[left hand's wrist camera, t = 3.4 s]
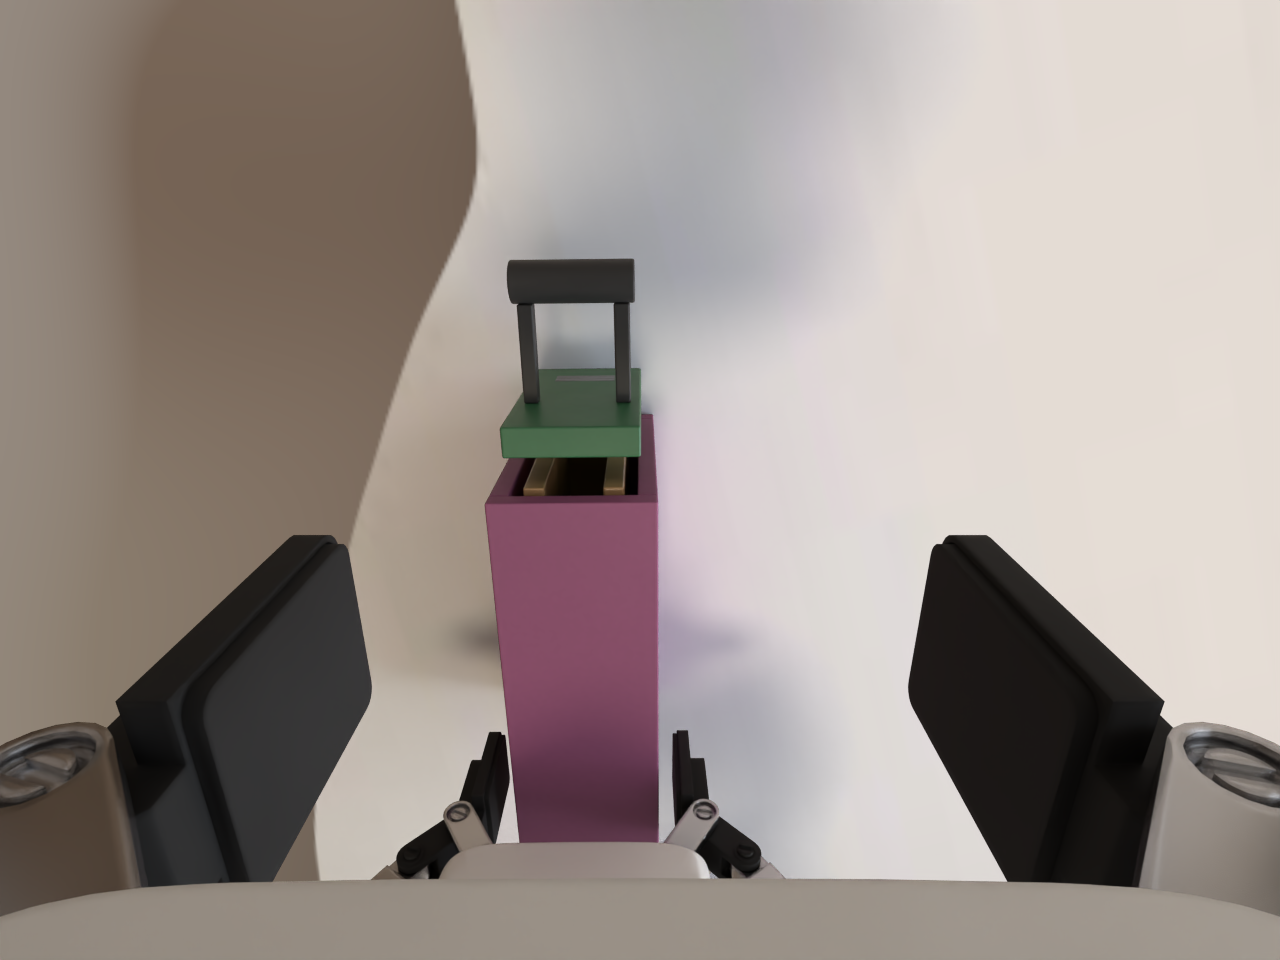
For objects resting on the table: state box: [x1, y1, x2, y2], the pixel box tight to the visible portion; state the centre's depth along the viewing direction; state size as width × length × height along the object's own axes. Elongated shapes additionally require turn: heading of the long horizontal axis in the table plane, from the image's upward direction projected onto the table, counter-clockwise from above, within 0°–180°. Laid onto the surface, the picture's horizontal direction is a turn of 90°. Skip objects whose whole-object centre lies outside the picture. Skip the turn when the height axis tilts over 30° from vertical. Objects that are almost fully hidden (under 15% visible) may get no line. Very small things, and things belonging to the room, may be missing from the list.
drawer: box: [500, 259, 641, 496], centre depth 31 cm, size 22×5×10 cm, turn 1°
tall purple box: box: [485, 414, 659, 843], centre depth 33 cm, size 18×6×11 cm, turn 1°
